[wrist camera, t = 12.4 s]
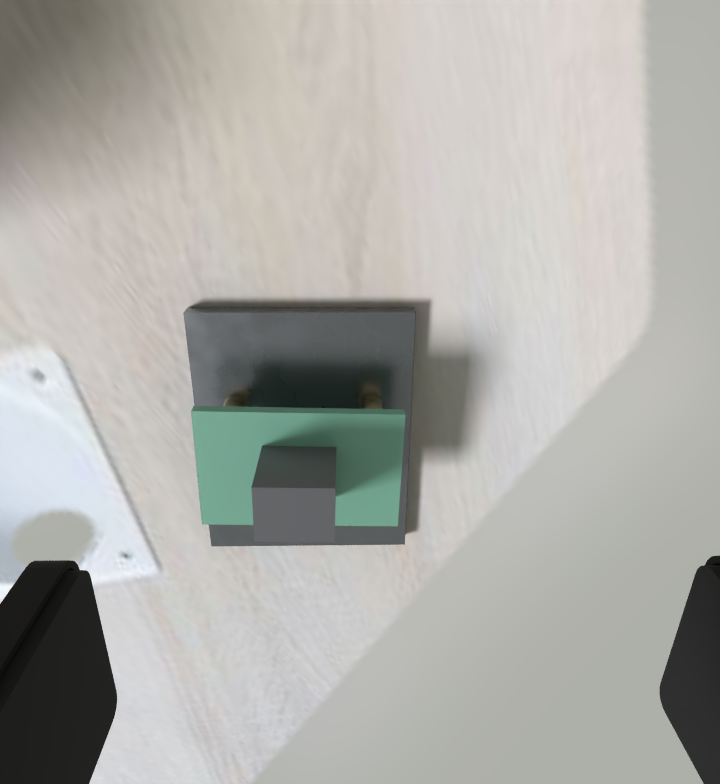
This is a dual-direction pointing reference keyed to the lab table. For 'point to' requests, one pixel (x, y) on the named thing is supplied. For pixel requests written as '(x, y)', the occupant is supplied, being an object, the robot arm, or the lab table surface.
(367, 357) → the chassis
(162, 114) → the lab table surface
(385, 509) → the circuit board
